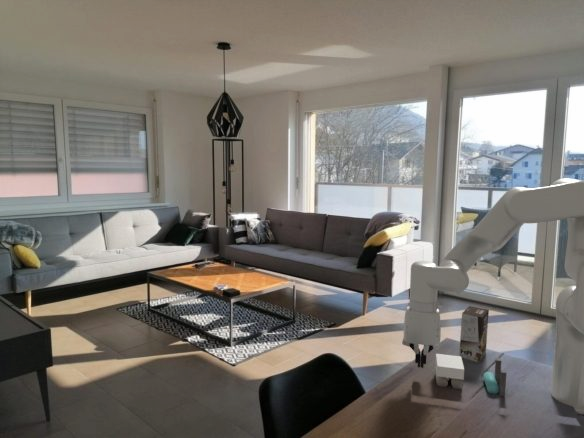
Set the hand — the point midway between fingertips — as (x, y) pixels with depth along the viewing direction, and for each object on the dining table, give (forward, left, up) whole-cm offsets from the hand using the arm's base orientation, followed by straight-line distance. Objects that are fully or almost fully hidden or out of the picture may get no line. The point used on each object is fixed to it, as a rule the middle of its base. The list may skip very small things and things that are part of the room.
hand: (420, 365), depth 125 cm
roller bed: (-13, 0, -5) cm, 14 cm away
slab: (-8, 0, -1) cm, 8 cm away
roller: (-19, 0, -3) cm, 19 cm away
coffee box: (-17, -20, -5) cm, 27 cm away
